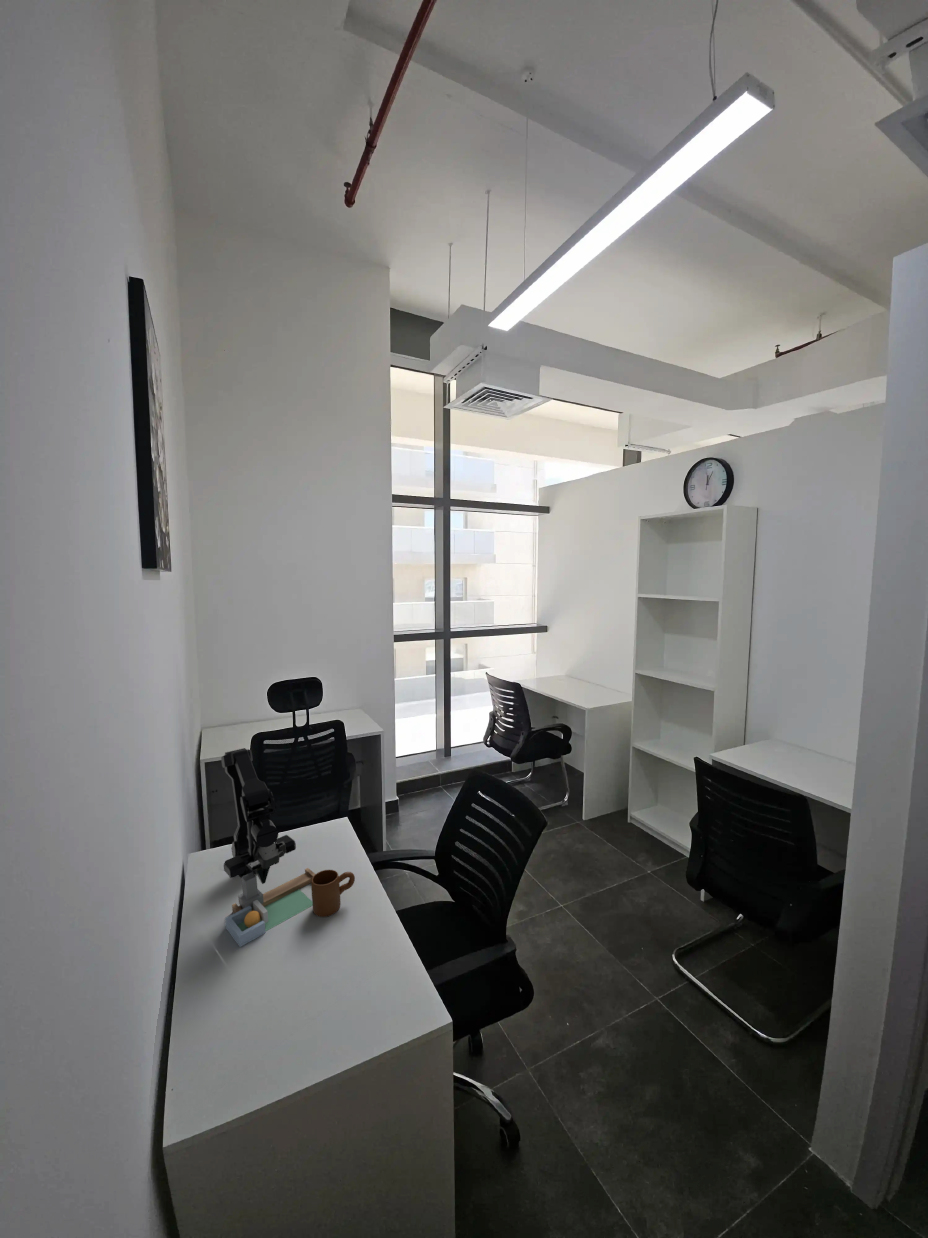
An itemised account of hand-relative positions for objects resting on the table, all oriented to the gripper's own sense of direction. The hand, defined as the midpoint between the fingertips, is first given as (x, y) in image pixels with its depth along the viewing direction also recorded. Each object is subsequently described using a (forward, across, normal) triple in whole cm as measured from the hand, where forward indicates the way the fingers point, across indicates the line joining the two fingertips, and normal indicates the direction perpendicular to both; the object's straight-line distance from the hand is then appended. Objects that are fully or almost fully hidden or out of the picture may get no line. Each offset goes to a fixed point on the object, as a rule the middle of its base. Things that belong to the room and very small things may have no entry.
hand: (263, 883), depth 140 cm
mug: (+6, +13, -17) cm, 22 cm away
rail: (+6, +3, 0) cm, 7 cm away
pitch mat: (+6, -1, -7) cm, 9 cm away
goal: (+6, -8, -8) cm, 13 cm away
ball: (+5, -8, -8) cm, 12 cm away
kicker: (+5, -4, -4) cm, 7 cm away
